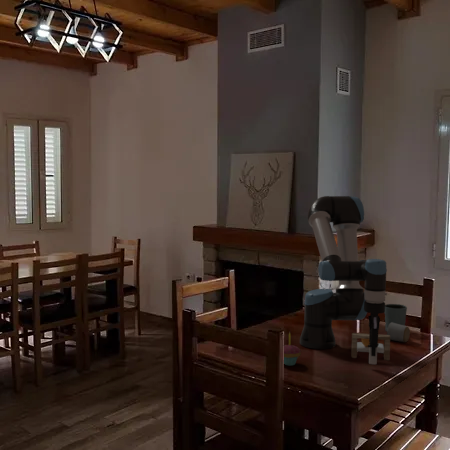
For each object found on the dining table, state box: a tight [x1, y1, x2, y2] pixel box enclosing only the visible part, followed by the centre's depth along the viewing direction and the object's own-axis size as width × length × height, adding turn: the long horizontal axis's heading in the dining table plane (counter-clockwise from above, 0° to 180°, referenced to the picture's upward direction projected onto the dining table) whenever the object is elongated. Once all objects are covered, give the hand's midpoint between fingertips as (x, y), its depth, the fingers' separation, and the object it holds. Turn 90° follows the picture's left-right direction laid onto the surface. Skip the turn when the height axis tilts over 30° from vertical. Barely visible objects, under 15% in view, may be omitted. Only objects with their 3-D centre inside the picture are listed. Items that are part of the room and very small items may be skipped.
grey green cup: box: [384, 303, 408, 332], centre depth 255 cm, size 10×10×12 cm
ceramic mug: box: [386, 322, 411, 343], centre depth 241 cm, size 11×8×8 cm
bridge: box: [350, 332, 391, 361], centre depth 215 cm, size 3×14×9 cm, turn 79°
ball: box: [361, 338, 370, 347], centre depth 230 cm, size 6×6×6 cm
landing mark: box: [357, 341, 384, 354], centre depth 229 cm, size 13×13×1 cm
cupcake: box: [283, 330, 302, 367], centre depth 207 cm, size 9×8×12 cm
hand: (372, 363), depth 202 cm, fingers closed
